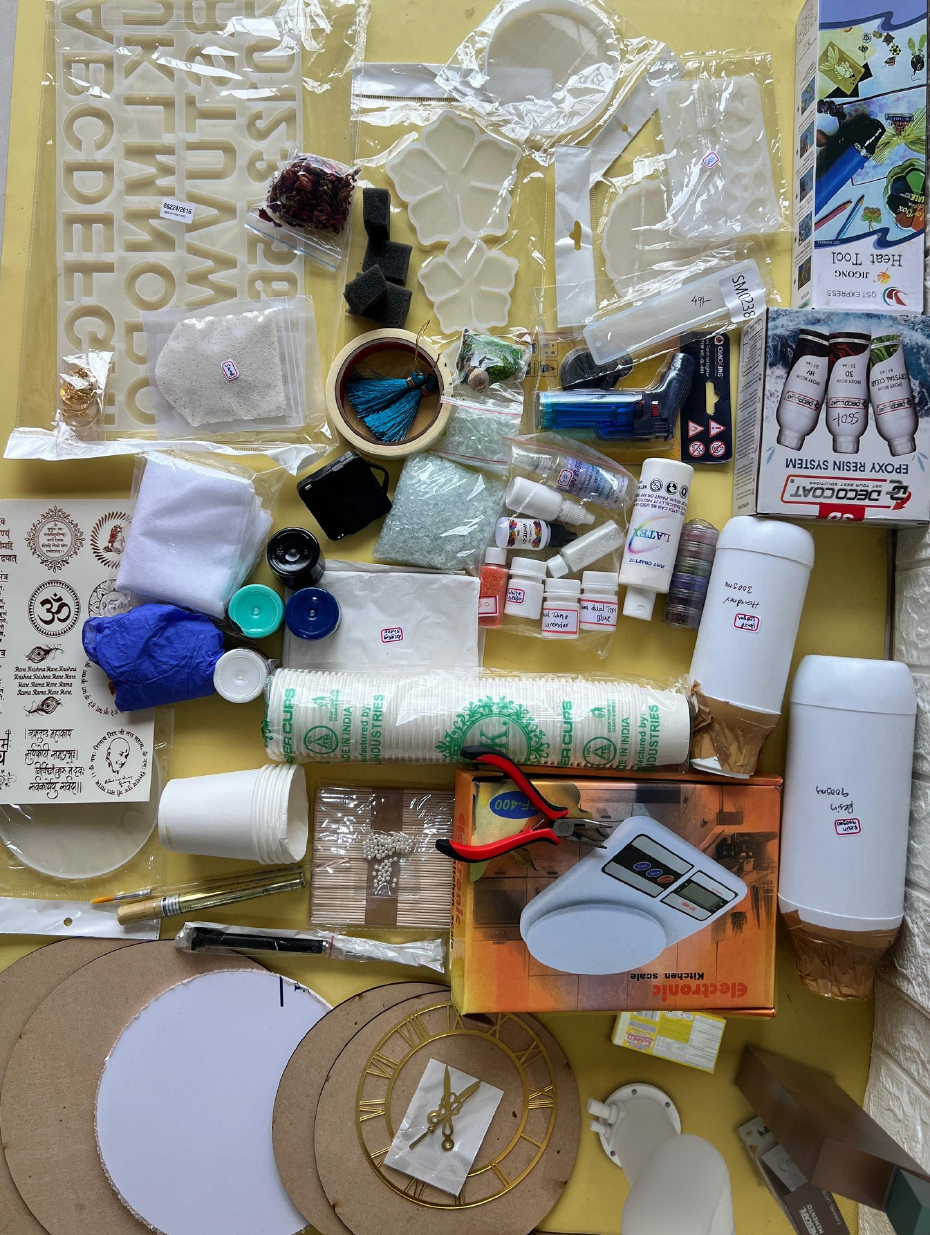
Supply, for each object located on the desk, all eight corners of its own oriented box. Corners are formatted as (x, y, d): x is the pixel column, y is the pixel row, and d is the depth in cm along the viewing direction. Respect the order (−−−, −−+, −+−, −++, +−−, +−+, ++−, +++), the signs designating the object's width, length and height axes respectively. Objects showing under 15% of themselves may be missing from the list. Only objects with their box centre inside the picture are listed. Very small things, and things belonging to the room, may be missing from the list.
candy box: (708, 1068, 123) (723, 1016, 123) (713, 1075, 121) (728, 1022, 121) (609, 1037, 123) (625, 985, 123) (612, 1044, 121) (628, 991, 121)
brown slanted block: (733, 1082, 123) (811, 1185, 97) (746, 1045, 123) (826, 1137, 98) (820, 1116, 123) (919, 1227, 98) (832, 1078, 123) (934, 1179, 98)
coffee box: (735, 1128, 122) (780, 1194, 106) (771, 1108, 122) (821, 1171, 106) (762, 1183, 121) (812, 1259, 105) (798, 1163, 122) (853, 1235, 106)
